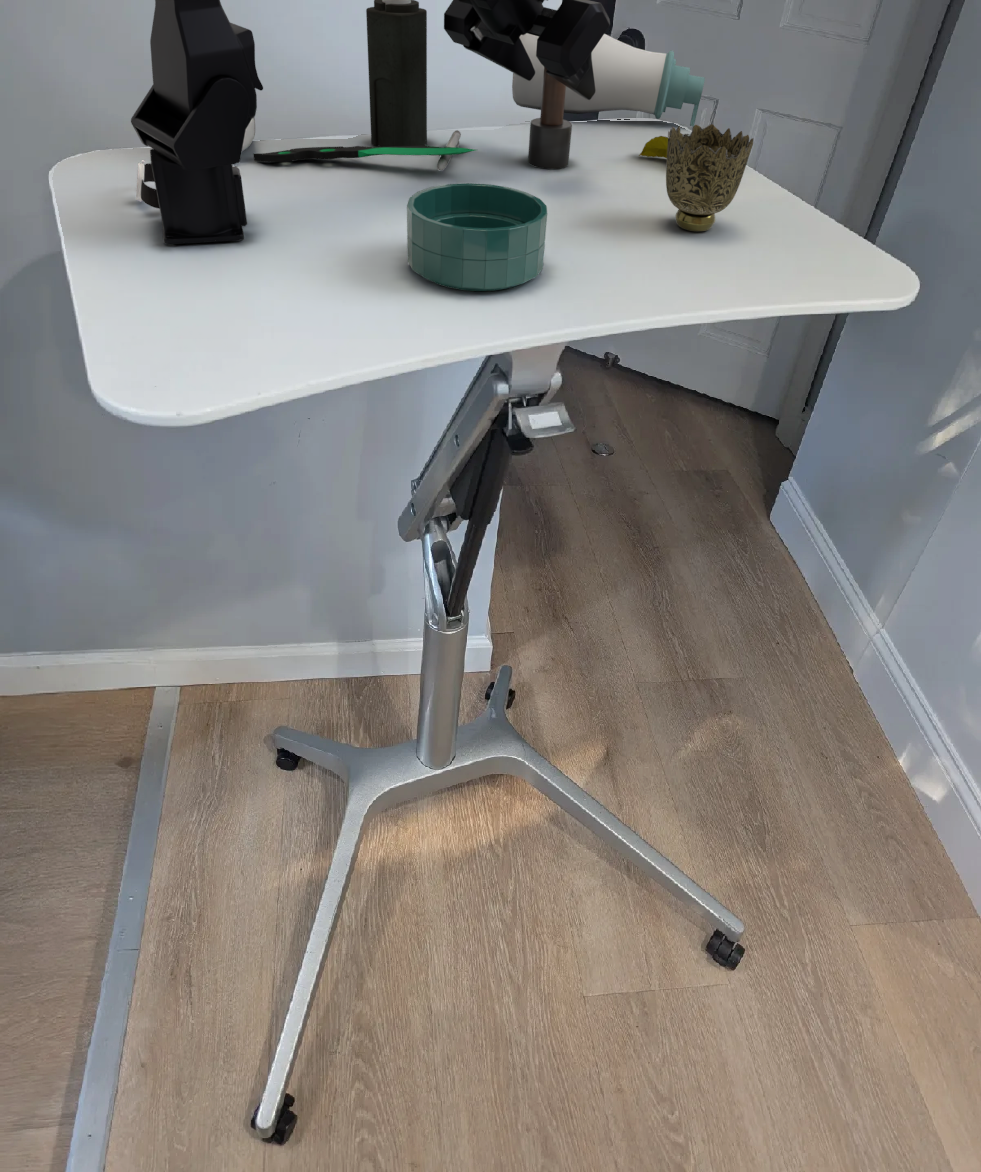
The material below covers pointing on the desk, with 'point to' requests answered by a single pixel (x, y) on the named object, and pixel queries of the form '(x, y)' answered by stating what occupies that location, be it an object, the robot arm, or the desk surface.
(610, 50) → the soap bottle
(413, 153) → the knife
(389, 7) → the dark bottle
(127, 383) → the desk surface
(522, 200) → the bowl
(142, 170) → the watch
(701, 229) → the cup
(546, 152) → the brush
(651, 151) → the decorative leaf
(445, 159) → the pen
